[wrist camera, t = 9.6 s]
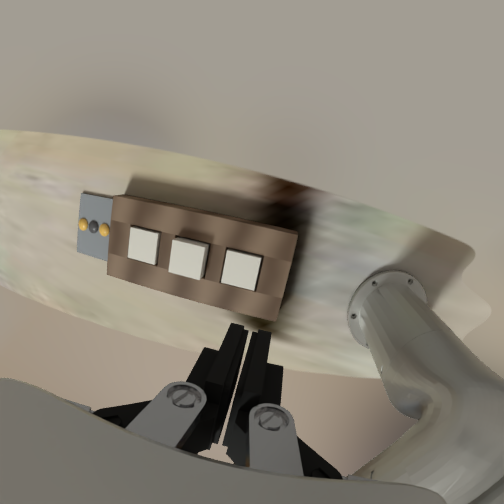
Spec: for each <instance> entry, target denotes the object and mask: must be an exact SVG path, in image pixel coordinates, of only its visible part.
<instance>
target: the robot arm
mask: <svg viewBox="0 0 504 504" xmlns="http://www.w3.org/2000/svg"><path fill="white" fill-rule="evenodd" d="M409 279H410V280H409ZM408 280H409V281H408ZM373 281H375V282H374V283H372V282H373ZM352 314H354V315H352ZM347 320H348V325H349V328H350V331H351V333H352V335H353V337H354V338H355V340H356V341H357V342H358V343H359V344H361V345H362V346H364V347H366V348H368V349H370V351H371V354H372V356H373V359H374V361H375V364H376V366H377V369H378V372H379V374H380V377H381V379H382V382H383V384H384V387H385V390H386V392H387V395H388V397H389V400H390V401H391V403H392V405H393V406H394V407H395V408H396V409H397V410H398V411H399V412H400V413H402V414H403V415H406V416H408V417H410V418H413V419H417V420H418V421H417V423H415V425H413V426H412V427H411V428H410V429H409V430H408V431H407V432H406V433H404V434H403V436H402V437H401V438H399V439H398V440H397V441H396V442H395V443H393V444H392V445H390V446H389V447H388V448H387V449H385V450H384V451H383V452H381V453H380V454H379V455H377V456H376V457H375V458H373V459H372V460H370V461H369V462H368V463H367V464H365V465H364V466H362V467H361V468H360V469H359V470H357V471H356V472H355V473H354V474H352V475H348V476H347V477H344V476H341V474H340V473H339V472H338V471H337V469H335V468H334V467H333V466H332V465H331V464H329V463H328V462H327V461H326V460H324V459H323V458H322V457H321V456H319V455H318V454H317V453H316V452H315V451H314V450H312V449H311V448H310V447H309V446H308V445H306V444H305V443H304V442H303V441H302V440H301V439H300V438H299V437H297V435H296V429H295V424H294V419H293V417H292V415H291V414H290V412H289V411H288V410H286V409H285V408H283V407H281V406H280V403H281V391H282V378H283V366H279V365H275V364H270V363H267V359H268V352H269V346H270V340H271V333H272V332H268V331H263V330H258V333H257V332H252V336H251V339H250V343H249V347H248V350H247V354H246V357H245V361H244V364H243V368H242V371H241V375H240V378H239V382H238V385H237V389H236V393H235V397H234V401H233V405H232V409H231V413H230V417H229V421H228V425H227V429H226V433H225V436H224V441H223V444H222V445H223V446H227V447H228V449H227V452H226V454H227V455H228V456H229V457H230V458H231V460H232V461H233V462H234V464H230V463H226V462H222V461H218V460H214V459H211V458H207V457H203V456H200V455H198V452H201V451H203V450H206V449H208V450H210V448H211V444H212V443H216V444H218V441H219V438H220V435H221V432H222V429H223V425H224V422H225V419H226V415H227V412H228V409H229V405H230V402H231V399H232V396H233V392H234V389H235V385H236V382H237V378H238V374H239V369H240V365H241V361H242V357H243V353H244V348H245V344H246V340H247V335H248V331H249V330H244V326H243V325H239V324H235V323H231V324H230V327H229V329H228V331H227V334H226V336H225V338H224V340H223V343H222V345H221V347H220V349H219V351H217V350H213V349H210V348H206V347H205V348H204V349H203V351H202V352H201V354H200V356H199V358H198V360H197V362H196V364H195V366H194V367H193V369H192V371H191V373H190V375H189V377H188V379H187V380H186V382H174V383H170V384H168V385H167V386H166V387H164V388H163V389H162V391H160V393H159V394H158V395H157V396H156V397H155V398H154V399H153V400H150V401H145V402H139V403H134V404H128V405H122V406H116V407H109V408H103V409H99V410H97V411H92V410H91V408H90V407H88V406H85V405H82V404H78V403H75V402H72V401H69V400H66V399H63V398H60V397H58V396H56V395H54V394H53V393H50V392H48V391H46V390H43V389H41V388H39V387H37V386H34V385H31V384H29V383H26V382H22V381H18V380H15V379H9V378H0V504H504V379H503V378H501V377H500V376H499V375H497V374H496V373H495V372H493V371H492V370H491V369H490V368H489V367H488V366H486V365H485V364H484V363H483V362H482V361H480V360H479V359H478V358H477V357H476V356H475V355H474V354H473V353H472V352H471V351H470V349H469V348H468V347H467V346H466V345H465V344H464V343H463V342H462V341H461V340H460V339H459V338H458V337H457V336H456V335H455V334H454V332H453V331H452V330H451V329H450V328H449V327H448V326H447V325H446V324H445V323H444V322H443V321H442V320H441V319H440V318H439V317H438V316H437V315H436V314H435V312H434V311H433V310H432V309H431V308H430V307H429V306H428V305H427V296H426V293H425V290H424V288H423V286H422V285H421V284H420V282H419V281H418V280H417V279H416V278H414V277H413V276H412V275H410V274H408V273H406V272H402V271H396V270H390V271H384V272H381V273H378V274H376V275H374V276H372V277H370V278H369V279H367V280H366V281H365V282H364V283H362V285H361V286H360V287H359V288H358V289H357V290H356V292H355V293H354V295H353V297H352V299H351V301H350V304H349V308H348V317H347Z"/></svg>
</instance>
